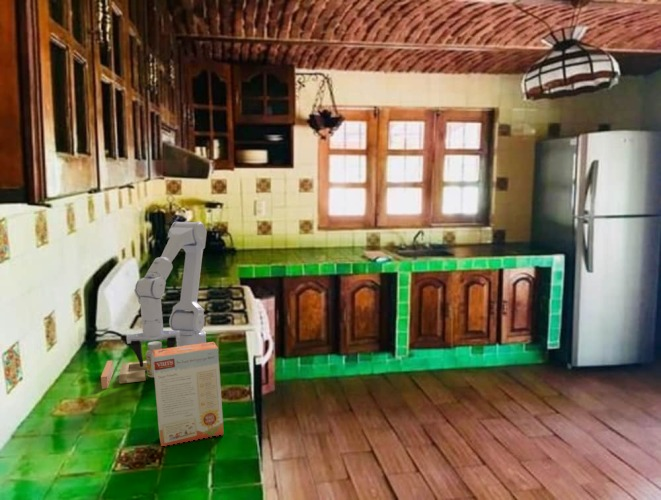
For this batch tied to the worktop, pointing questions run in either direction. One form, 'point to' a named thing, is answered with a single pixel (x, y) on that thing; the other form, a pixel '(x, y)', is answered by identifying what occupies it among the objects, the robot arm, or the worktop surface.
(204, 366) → the cracker box
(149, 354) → the supplement bottle
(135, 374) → the slot block
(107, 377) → the rail
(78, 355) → the worktop surface
